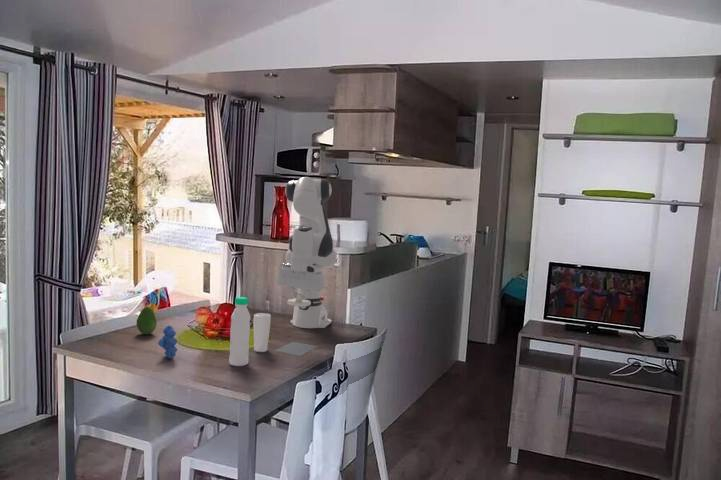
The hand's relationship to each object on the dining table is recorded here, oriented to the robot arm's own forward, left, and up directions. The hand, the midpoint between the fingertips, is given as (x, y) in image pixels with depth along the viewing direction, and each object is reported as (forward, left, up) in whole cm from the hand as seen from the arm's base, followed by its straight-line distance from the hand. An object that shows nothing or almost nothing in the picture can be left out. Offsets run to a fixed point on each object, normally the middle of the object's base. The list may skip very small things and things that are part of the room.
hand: (299, 298), depth 225 cm
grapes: (+37, -35, -22) cm, 55 cm away
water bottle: (+28, -9, -22) cm, 37 cm away
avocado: (+17, -64, -22) cm, 70 cm away
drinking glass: (+10, -11, -22) cm, 26 cm away
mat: (0, 0, -22) cm, 22 cm away
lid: (0, 0, -2) cm, 2 cm away
